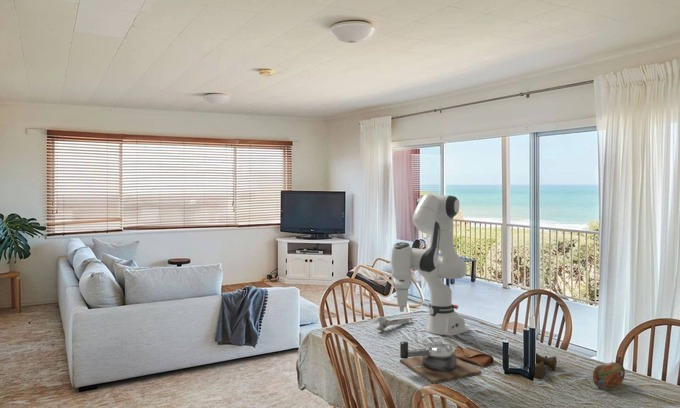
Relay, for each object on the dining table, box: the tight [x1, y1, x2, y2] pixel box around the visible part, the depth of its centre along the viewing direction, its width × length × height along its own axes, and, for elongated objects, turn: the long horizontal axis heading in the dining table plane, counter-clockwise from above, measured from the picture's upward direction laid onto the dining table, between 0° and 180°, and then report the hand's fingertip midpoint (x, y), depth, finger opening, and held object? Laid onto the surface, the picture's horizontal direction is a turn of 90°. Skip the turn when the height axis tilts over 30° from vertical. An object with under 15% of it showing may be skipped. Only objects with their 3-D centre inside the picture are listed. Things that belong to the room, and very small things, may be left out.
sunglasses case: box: [453, 345, 495, 368], centre depth 208 cm, size 18×7×7 cm, turn 46°
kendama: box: [534, 352, 558, 379], centre depth 197 cm, size 6×10×20 cm
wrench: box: [373, 315, 413, 332], centre depth 254 cm, size 8×2×30 cm
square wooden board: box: [399, 354, 482, 384], centre depth 199 cm, size 24×24×5 cm
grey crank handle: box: [399, 341, 454, 360], centre depth 197 cm, size 23×11×7 cm, turn 105°
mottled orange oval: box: [592, 361, 626, 390], centre depth 182 cm, size 15×3×8 cm, turn 114°
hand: (401, 310), depth 209 cm, fingers closed
